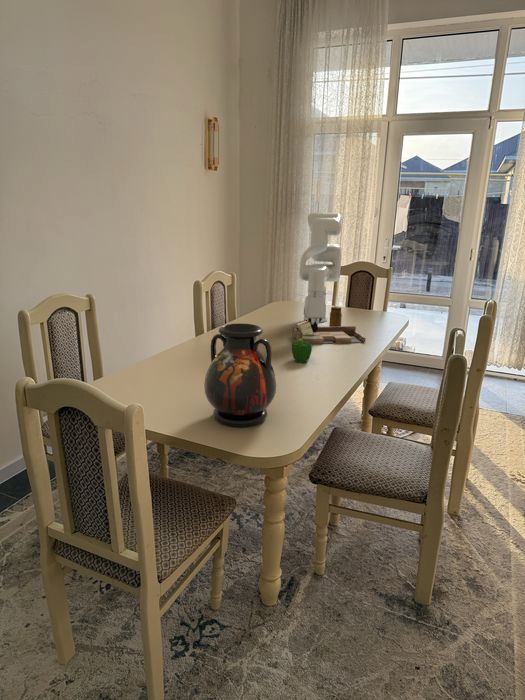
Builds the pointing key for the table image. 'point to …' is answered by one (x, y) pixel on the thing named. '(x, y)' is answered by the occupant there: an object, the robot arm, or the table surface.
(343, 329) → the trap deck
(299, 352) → the bell pepper
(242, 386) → the amphora vase
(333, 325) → the condiment
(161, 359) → the table surface
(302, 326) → the birch block
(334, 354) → the table surface
